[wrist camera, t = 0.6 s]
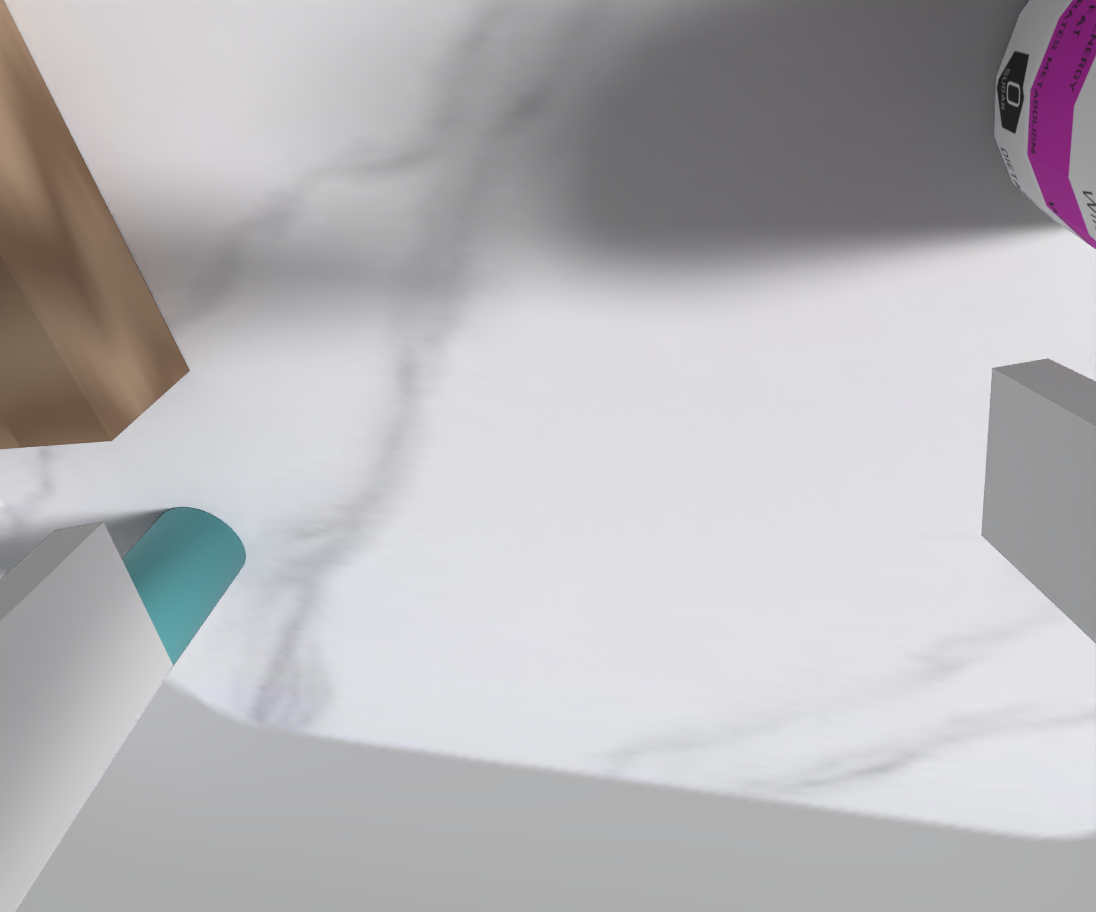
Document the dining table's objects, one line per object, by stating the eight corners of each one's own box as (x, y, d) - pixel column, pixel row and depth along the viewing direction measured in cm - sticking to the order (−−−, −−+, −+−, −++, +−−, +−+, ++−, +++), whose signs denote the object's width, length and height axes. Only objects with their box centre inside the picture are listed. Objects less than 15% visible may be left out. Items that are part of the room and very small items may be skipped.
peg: (137, 507, 36) (-248, 915, 21) (222, 503, 35) (-123, 930, 20) (181, 579, 38) (-136, 987, 24) (262, 577, 37) (-19, 1004, 23)
